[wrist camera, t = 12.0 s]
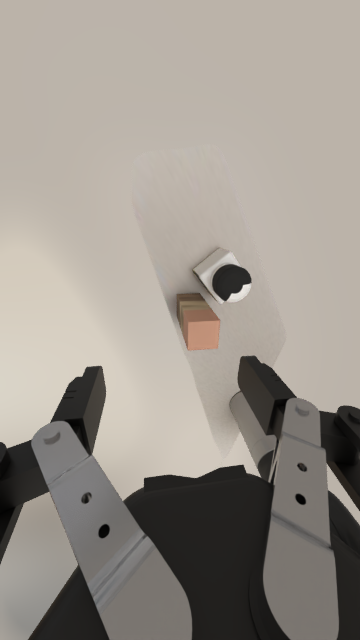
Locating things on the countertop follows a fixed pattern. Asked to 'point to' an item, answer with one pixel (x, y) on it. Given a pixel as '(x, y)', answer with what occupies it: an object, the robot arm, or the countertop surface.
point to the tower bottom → (187, 298)
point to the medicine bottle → (223, 277)
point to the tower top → (191, 308)
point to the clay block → (201, 329)
